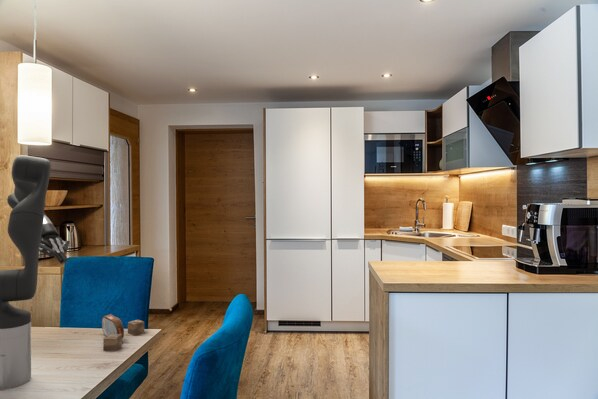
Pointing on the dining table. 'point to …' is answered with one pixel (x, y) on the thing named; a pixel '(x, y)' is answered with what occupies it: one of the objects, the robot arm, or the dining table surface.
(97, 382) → the dining table surface
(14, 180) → the robot arm
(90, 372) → the dining table surface
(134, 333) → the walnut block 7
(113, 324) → the tin
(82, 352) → the dining table surface
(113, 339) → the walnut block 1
